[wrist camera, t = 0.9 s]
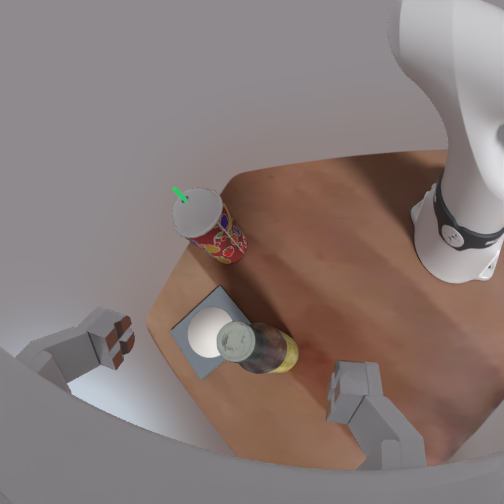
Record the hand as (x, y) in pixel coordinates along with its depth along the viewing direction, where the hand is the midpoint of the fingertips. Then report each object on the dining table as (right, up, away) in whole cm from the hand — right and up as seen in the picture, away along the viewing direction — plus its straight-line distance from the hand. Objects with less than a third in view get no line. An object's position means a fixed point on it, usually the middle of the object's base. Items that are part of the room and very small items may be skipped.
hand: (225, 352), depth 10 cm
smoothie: (-3, +4, +44) cm, 44 cm away
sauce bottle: (+6, -12, +33) cm, 36 cm away
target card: (-6, -10, +39) cm, 40 cm away
